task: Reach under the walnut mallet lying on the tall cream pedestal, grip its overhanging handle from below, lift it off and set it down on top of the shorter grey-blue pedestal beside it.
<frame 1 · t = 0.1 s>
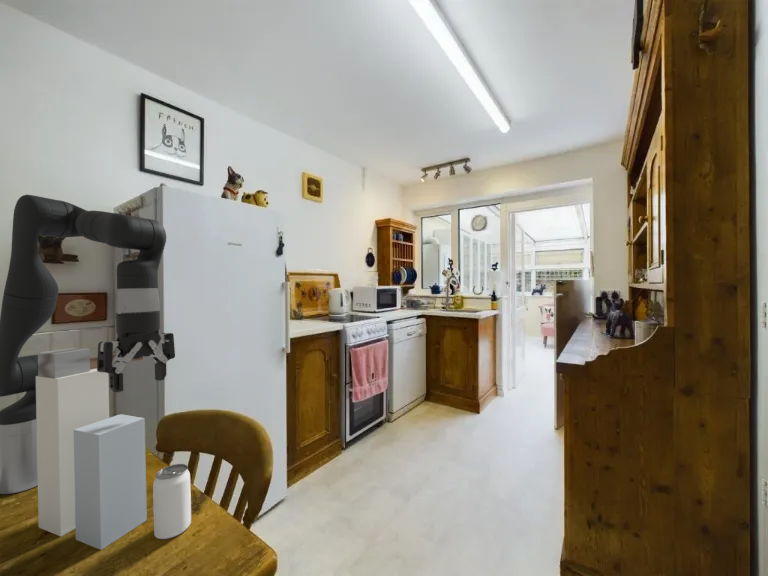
hand: (140, 385, 70), 29 cm above the table, tool pointing down, fingers open, 8 cm apart
short pedestal: (112, 529, 68), on the table
can: (173, 529, 67), on the table
tall pedestal: (76, 517, 72), on the table
mallet: (92, 368, 75), point 32 cm above the table, touching tall pedestal
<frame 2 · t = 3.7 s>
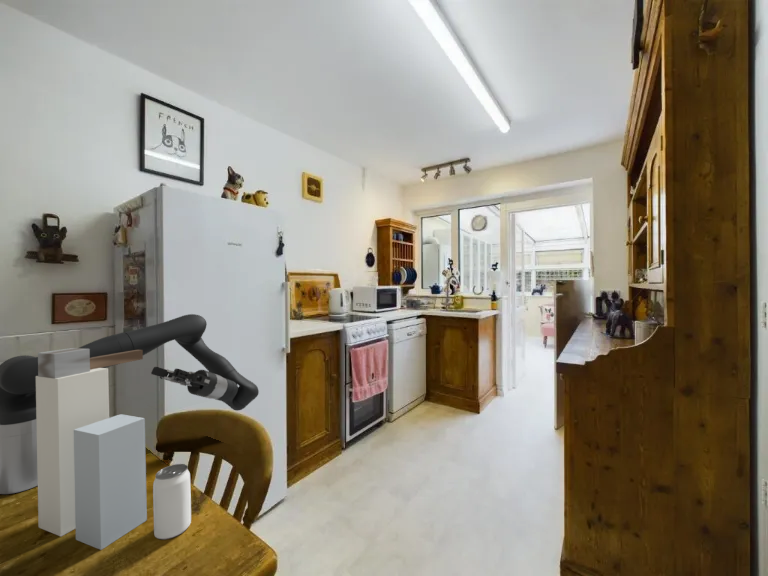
hand: (163, 371, 90), 27 cm above the table, tool pointing upward, fingers open, 8 cm apart
nothing on the table moved.
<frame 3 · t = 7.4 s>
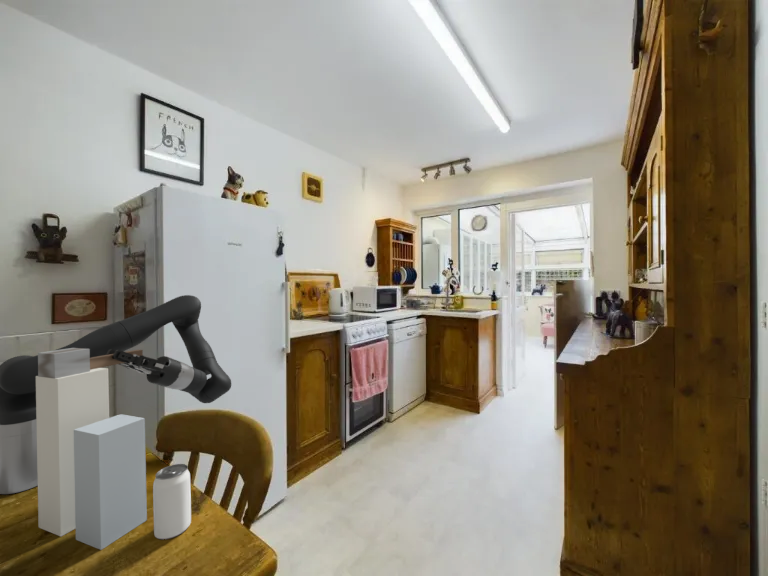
hand: (111, 353, 79), 35 cm above the table, tool pointing upward, fingers closed on mallet
mallet: (92, 368, 75), point 32 cm above the table, touching gripper, tall pedestal
everything else where it was.
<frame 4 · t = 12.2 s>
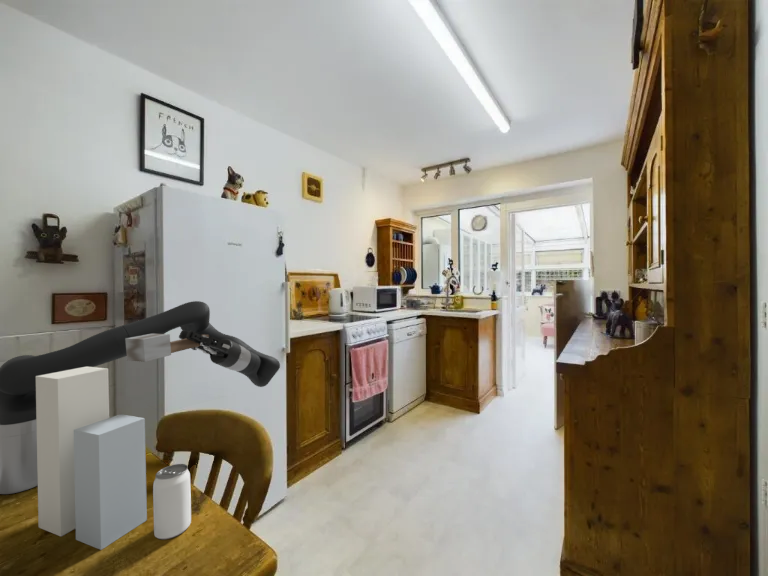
hand: (184, 334, 84), 38 cm above the table, tool pointing upward, fingers closed on mallet
mallet: (170, 352, 80), point 34 cm above the table, touching gripper
everything else where it was.
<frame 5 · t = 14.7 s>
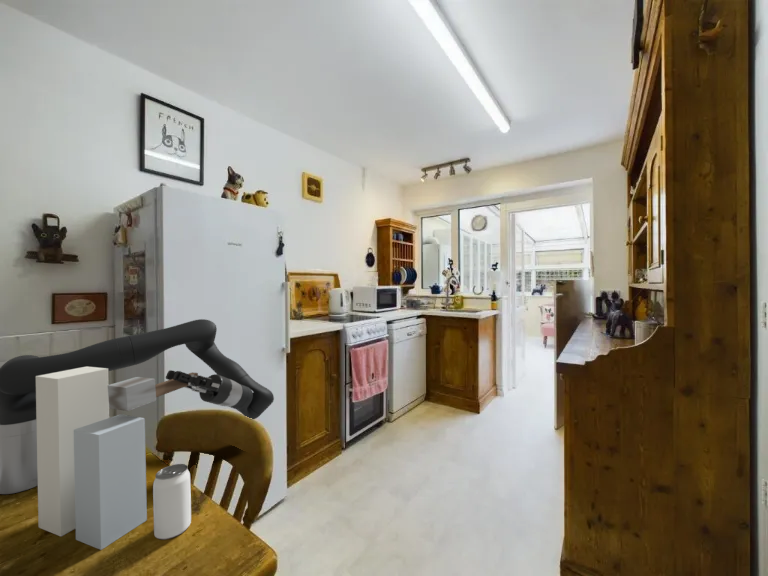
hand: (171, 374, 80), 29 cm above the table, tool pointing upward, fingers closed on mallet
mallet: (156, 395, 77), point 25 cm above the table, touching gripper
everything else where it was.
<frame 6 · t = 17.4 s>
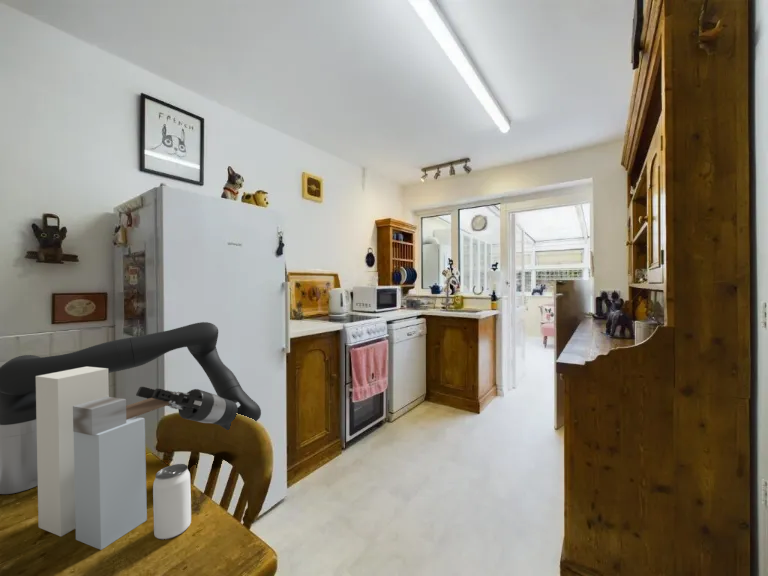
hand: (147, 392, 75), 26 cm above the table, tool pointing upward, fingers open, 4 cm apart
mallet: (127, 417, 71), point 22 cm above the table, touching short pedestal
everything else where it was.
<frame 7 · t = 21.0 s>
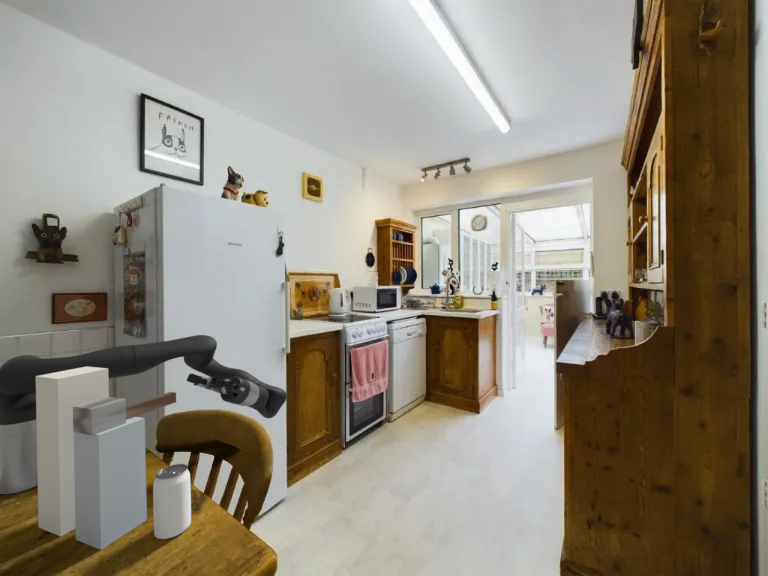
hand: (200, 378, 88), 26 cm above the table, tool pointing upward, fingers open, 8 cm apart
nothing on the table moved.
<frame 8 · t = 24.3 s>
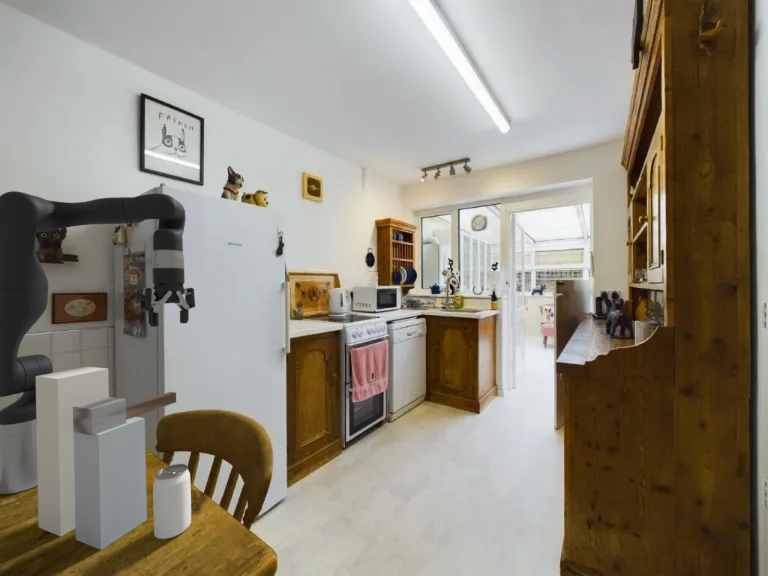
hand: (169, 324, 92), 40 cm above the table, tool pointing down, fingers open, 8 cm apart
nothing on the table moved.
at the end: mallet inside the target area on the short pedestal (0.2 cm from its centre), point 22.0 cm above the short pedestal's base; the gripper is holding nothing; mallet tilted 0° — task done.
